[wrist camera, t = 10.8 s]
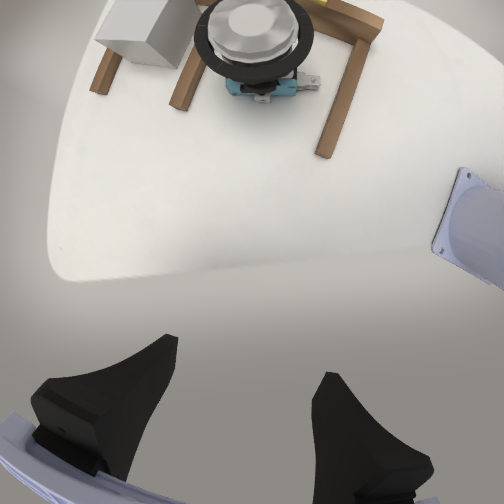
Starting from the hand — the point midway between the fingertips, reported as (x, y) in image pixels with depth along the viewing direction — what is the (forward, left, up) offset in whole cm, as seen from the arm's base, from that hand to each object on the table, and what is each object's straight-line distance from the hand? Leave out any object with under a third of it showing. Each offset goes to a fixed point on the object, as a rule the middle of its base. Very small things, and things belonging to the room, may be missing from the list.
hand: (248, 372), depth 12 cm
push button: (+5, -15, -11) cm, 19 cm away
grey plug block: (+15, -17, -10) cm, 25 cm away
